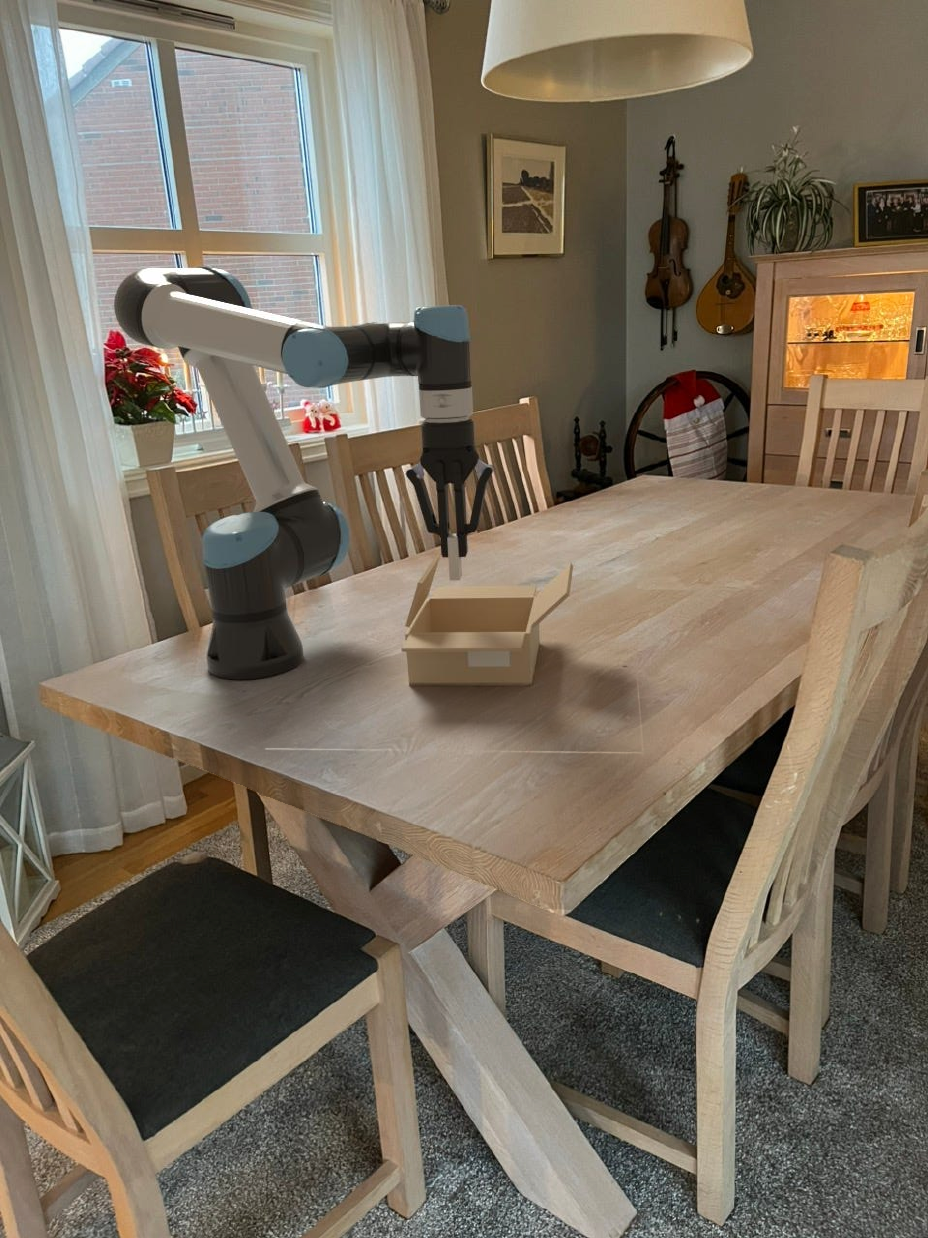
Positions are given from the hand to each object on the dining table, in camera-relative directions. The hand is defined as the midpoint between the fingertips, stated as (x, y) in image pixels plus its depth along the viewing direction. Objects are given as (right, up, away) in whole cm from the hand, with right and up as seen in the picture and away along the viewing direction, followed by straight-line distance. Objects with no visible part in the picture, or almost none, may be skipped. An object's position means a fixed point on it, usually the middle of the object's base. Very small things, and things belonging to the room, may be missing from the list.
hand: (455, 577), depth 146 cm
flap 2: (+12, -5, 0) cm, 13 cm away
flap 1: (-6, -5, +3) cm, 8 cm away
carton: (+3, -13, +4) cm, 14 cm away
